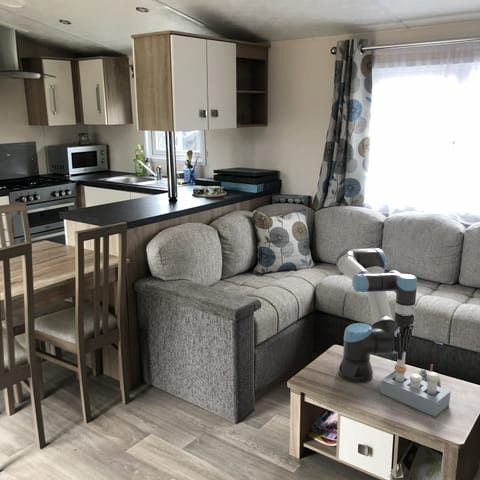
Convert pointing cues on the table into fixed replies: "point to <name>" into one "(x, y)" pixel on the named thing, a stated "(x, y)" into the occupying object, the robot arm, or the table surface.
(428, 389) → the cream plunger
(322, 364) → the table surface
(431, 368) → the brake caliper
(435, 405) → the blue peg holder block
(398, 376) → the peach ball knob
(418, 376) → the cream plunger
